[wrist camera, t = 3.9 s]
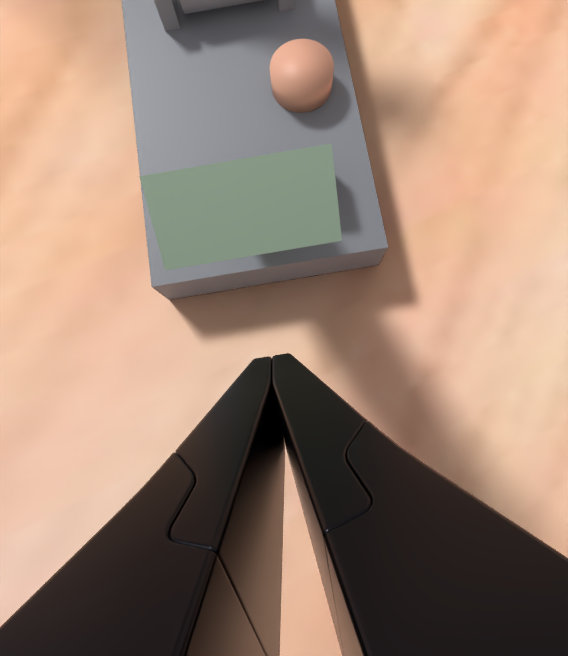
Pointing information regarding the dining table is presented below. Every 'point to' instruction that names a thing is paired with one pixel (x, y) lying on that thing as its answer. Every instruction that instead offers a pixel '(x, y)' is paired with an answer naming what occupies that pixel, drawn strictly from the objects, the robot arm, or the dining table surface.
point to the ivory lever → (209, 4)
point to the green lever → (244, 206)
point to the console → (250, 121)
